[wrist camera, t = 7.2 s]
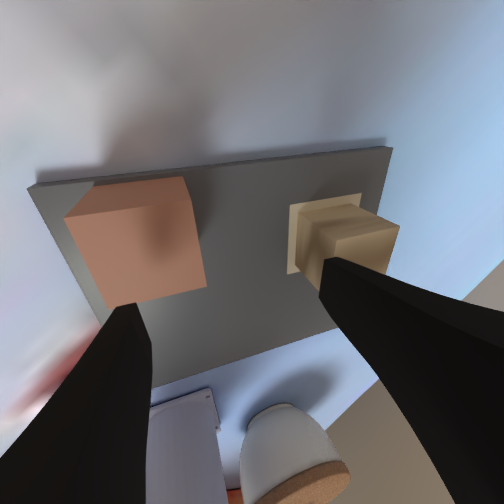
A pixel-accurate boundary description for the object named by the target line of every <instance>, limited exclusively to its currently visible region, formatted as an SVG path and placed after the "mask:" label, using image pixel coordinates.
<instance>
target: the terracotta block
mask: <svg viewBox="0 0 504 504" xmlns="http://www.w3.org/2000/svg"><path fill="white" fill-rule="evenodd" d="M63 219H64V221H65V223H66V225H67V227H68V229H69V231H70V233H71V235H72V237H73V239H74V241H75V243H76V245H77V247H78V249H79V251H80V253H81V255H82V257H83V259H84V261H85V263H86V265H87V267H88V269H89V271H90V273H91V275H92V277H93V279H94V281H95V283H96V285H97V288H98V290H99V292H100V294H101V296H102V298H103V300H104V302H105V304H106V306H107V308H108V310H111V309H115V308H116V307H117V306H121V305H126V304H130V303H135V302H136V303H140V302H144V301H149V300H153V299H157V298H161V297H165V296H170V295H174V294H178V293H182V292H186V291H190V290H195V289H199V288H203V287H207V283H206V278H205V272H204V267H203V261H202V256H201V251H200V245H199V240H198V234H197V229H196V223H195V218H194V212H193V207H192V201H191V198H190V195H189V192H188V190H187V187H186V184H185V181H184V178H183V176H178V177H169V178H161V179H152V180H144V181H135V182H126V183H118V184H109V185H101V186H93V187H92V188H91V189H90V190H89V191H88V192H87V193H86V194H85V195H84V196H83V198H82V199H81V200H80V201H79V202H78V203H77V204H76V205H75V206H74V207H73V208H72V209H71V210H70V211H69V212H68V214H67V215H66V216H65V217H64V218H63Z"/></svg>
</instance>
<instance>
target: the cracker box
mask: <svg viewBox="0 0 504 504" xmlns="http://www.w3.org/2000/svg"><path fill="white" fill-rule="evenodd" d="M226 492H227V498H228V503H229V504H244V502H243V496H242V491H241V489H237V490H231V491H226Z"/></svg>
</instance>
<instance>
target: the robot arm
mask: <svg viewBox="0 0 504 504" xmlns="http://www.w3.org/2000/svg"><path fill="white" fill-rule="evenodd" d="M318 298H319V299H320V301H321V303H322V304H323V306H324V308H325V309H326V311H327V312H328V314H329V316H330V317H331V318H332V320H333V321H334V322H335V324H336V325H337V326H338V327H339V328H340V330H341V331H342V332H343V333H344V335H345V336H346V337H347V338H348V339H349V341H350V342H351V343H352V344H353V346H354V347H355V348H356V349H357V350H358V352H359V353H360V354H361V355H362V356H363V358H364V359H365V360H366V361H367V362H368V364H369V365H370V366H371V368H372V369H373V370H374V372H375V373H376V374H377V376H378V377H379V379H380V380H381V381H382V383H383V384H384V386H385V387H386V389H387V390H388V392H389V393H390V395H391V396H392V398H393V399H394V401H395V402H396V404H397V405H398V407H399V408H400V410H401V412H402V413H403V415H404V416H405V418H406V419H407V421H408V422H409V424H410V426H411V427H412V429H413V431H414V432H415V434H416V436H417V437H418V439H419V440H420V442H421V444H422V446H423V447H424V449H425V451H426V452H427V454H428V456H429V457H430V459H431V461H432V462H433V464H434V466H435V468H436V470H437V471H438V473H439V475H440V477H441V479H442V480H443V482H444V484H445V486H446V487H447V489H448V491H449V493H450V495H451V496H452V498H453V500H454V502H455V504H504V312H502V311H498V310H493V309H489V308H485V307H482V306H478V305H474V304H470V303H467V302H463V301H460V300H456V299H453V298H450V297H446V296H443V295H440V294H437V293H434V292H430V291H428V290H425V289H422V288H419V287H416V286H413V285H410V284H408V283H405V282H402V281H400V280H397V279H395V278H392V277H389V276H387V275H384V274H382V273H379V272H377V271H374V270H372V269H369V268H367V267H364V266H362V265H359V264H357V263H354V262H351V261H349V260H346V259H343V258H340V257H332V258H328V259H324V263H323V269H322V276H321V283H320V289H319V296H318ZM152 375H153V362H152V342H151V340H150V337H149V335H148V332H147V329H146V327H145V324H144V321H143V319H142V316H141V314H140V311H139V308H138V306H137V303H136V302H135V303H130V304H126V305H121V306H117V307H116V308H115V309H114V310H113V312H112V313H111V315H110V316H109V317H108V319H107V320H106V322H105V323H104V325H103V326H102V328H101V329H100V331H99V332H98V334H97V335H96V337H95V338H94V340H93V341H92V343H91V344H90V345H89V347H88V348H87V350H86V351H85V353H84V354H83V355H82V357H81V358H80V360H79V361H78V362H77V364H76V365H75V367H74V368H73V369H72V371H71V372H70V373H69V375H68V376H67V377H66V379H65V380H64V381H63V382H62V384H61V385H60V386H59V388H58V389H57V390H56V392H55V393H54V394H53V395H52V397H51V398H50V399H49V401H48V402H47V403H46V404H45V406H44V407H43V408H42V409H41V411H40V412H39V413H38V414H37V416H36V417H35V418H34V419H33V420H32V422H31V423H30V424H29V425H28V426H27V428H26V429H25V430H24V431H23V432H22V434H21V435H20V436H19V437H18V438H17V439H16V441H15V442H14V443H13V444H12V445H11V446H10V447H9V449H8V450H7V451H6V452H5V453H4V454H3V455H2V457H1V458H0V504H229V503H228V498H227V492H226V486H225V480H224V475H223V469H222V463H221V458H220V452H219V446H218V440H217V435H216V434H217V433H219V432H220V431H221V428H220V424H219V420H218V416H217V411H216V407H215V403H214V399H213V395H212V391H211V389H210V388H206V389H203V390H200V391H197V392H194V393H191V394H188V395H186V396H183V397H180V398H177V399H174V400H171V401H168V402H165V403H163V404H160V405H157V406H154V407H151V408H150V401H151V389H152Z"/></svg>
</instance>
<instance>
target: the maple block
mask: <svg viewBox="0 0 504 504" xmlns="http://www.w3.org/2000/svg"><path fill="white" fill-rule="evenodd" d="M399 228H400V226H399V225H396V224H394V223H392V222H390V221H388V220H386V219H384V218H381V217H379V216H377V215H375V214H373V213H371V212H369V211H366V210H364V209H362V208H360V207H358V206H356V205H354V204H351V203H349V204H344V205H338V206H333V207H327V208H322V209H316V210H311V211H305V212H299V213H298V219H297V236H296V253H295V266H296V267H297V268H298V269H299V270H300V271H301V272H302V273H303V275H304V276H305V277H306V278H307V279H308V280H309V281H310V282H311V283H312V285H313V286H314V287H315V288H316V289H317V290H318V291H319V289H320V283H321V276H322V269H323V263H324V259H328V258H332V257H340V258H343V259H346V260H349V261H351V262H354V263H357V264H359V265H362V266H364V267H367V268H369V269H372V270H374V271H377V272H379V273H382V274H384V275H385V274H386V270H387V267H388V264H389V261H390V257H391V254H392V251H393V248H394V244H395V241H396V238H397V235H398V231H399Z"/></svg>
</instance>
